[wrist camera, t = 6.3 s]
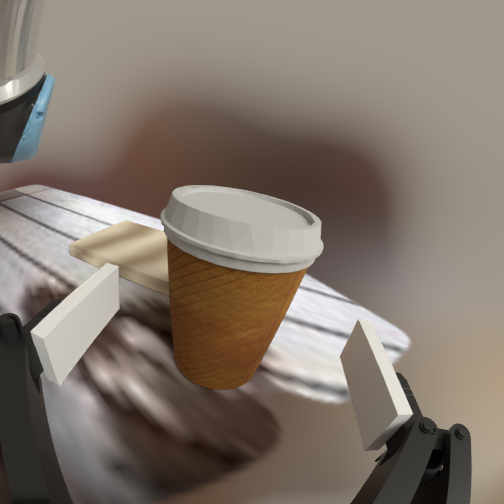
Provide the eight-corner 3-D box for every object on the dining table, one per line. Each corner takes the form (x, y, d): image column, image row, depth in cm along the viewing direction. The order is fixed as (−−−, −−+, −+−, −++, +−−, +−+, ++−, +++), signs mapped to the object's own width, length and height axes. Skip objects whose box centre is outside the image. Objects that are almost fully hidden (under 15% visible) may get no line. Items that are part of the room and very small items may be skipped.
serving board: (70, 255, 28) (70, 243, 28) (125, 229, 39) (126, 220, 39) (211, 310, 26) (213, 297, 25) (243, 265, 37) (245, 255, 36)
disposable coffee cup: (149, 321, 22) (160, 178, 18) (252, 320, 26) (284, 195, 22) (160, 414, 14) (169, 221, 10) (297, 397, 18) (364, 241, 14)
